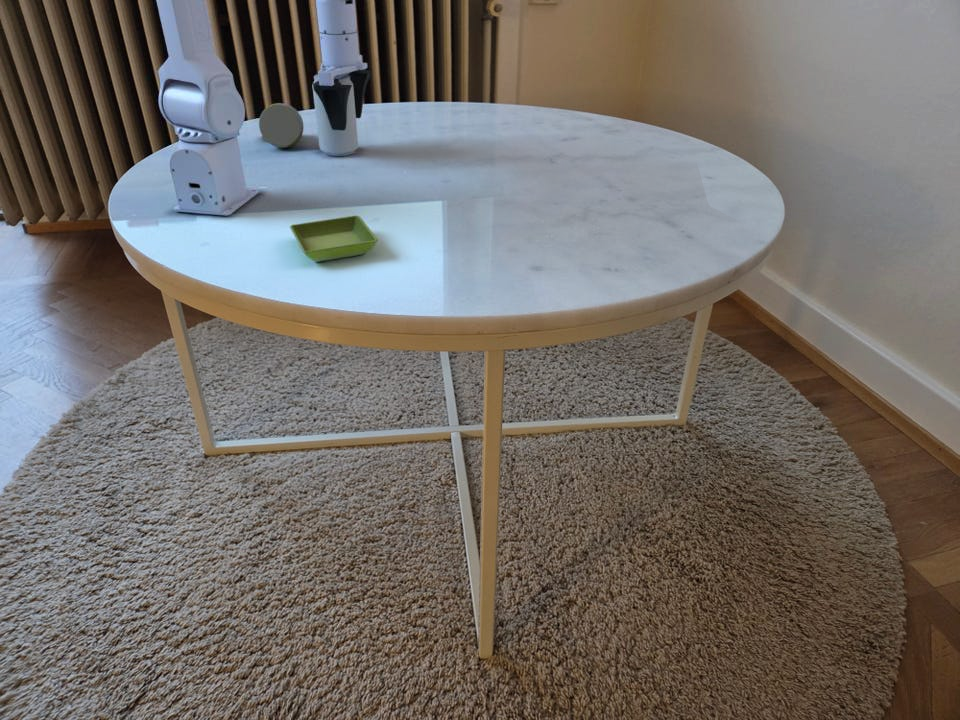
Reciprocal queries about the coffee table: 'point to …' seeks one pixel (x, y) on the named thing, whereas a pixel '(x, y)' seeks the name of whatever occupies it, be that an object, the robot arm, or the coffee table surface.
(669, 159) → the coffee table surface
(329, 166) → the coffee table surface
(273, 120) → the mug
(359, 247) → the green tray
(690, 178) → the coffee table surface
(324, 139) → the beverage can
